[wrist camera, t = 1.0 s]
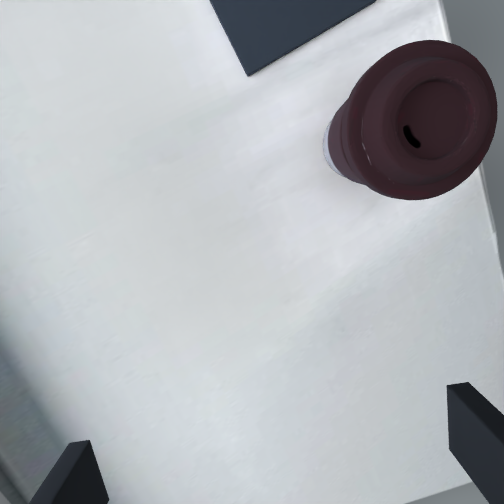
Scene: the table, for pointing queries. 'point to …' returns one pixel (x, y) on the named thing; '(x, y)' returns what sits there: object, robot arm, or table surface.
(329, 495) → the table surface
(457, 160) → the coffee cup
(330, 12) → the mat
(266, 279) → the table surface
